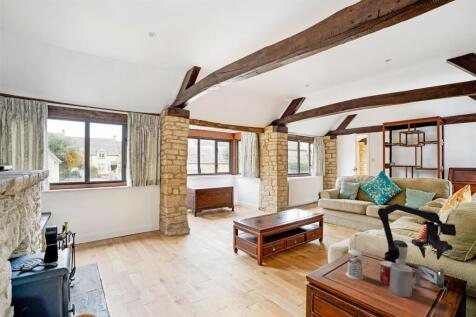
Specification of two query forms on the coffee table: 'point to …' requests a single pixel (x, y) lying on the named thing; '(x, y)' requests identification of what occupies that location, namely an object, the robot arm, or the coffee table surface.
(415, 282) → the latch stile
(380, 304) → the coffee table surface
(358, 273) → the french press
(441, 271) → the hinge post
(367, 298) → the coffee table surface
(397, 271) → the pillar candle
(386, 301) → the coffee table surface
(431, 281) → the gate
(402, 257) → the coffee cup
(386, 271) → the canned food
